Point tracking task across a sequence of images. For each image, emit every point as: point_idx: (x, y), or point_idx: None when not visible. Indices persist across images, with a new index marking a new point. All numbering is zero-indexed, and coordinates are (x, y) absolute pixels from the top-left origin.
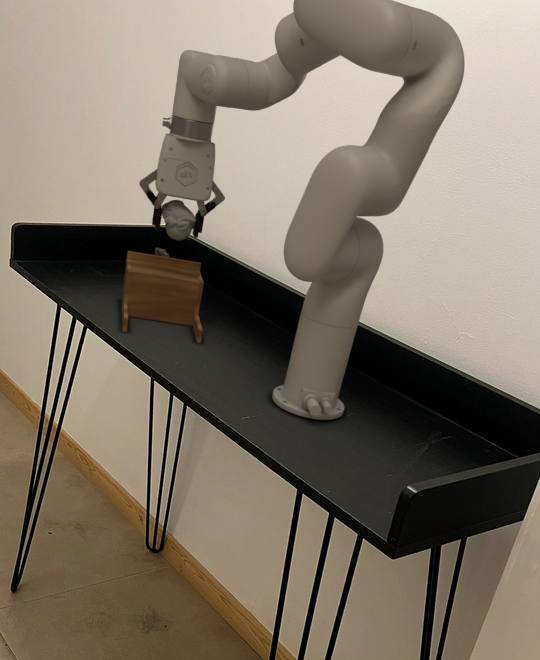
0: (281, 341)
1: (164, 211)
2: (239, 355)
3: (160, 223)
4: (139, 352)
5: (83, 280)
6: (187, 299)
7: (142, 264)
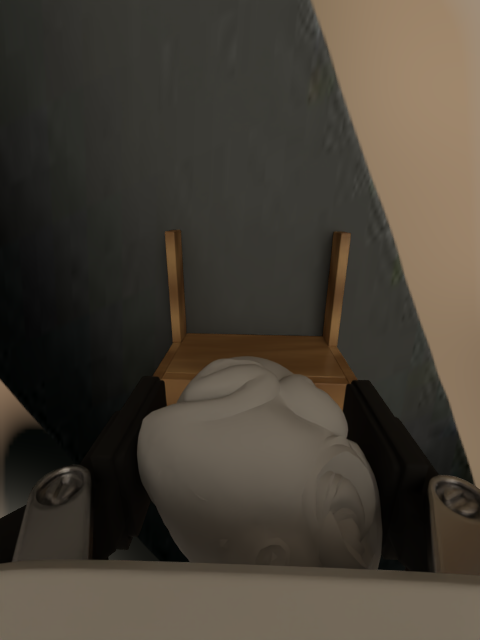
0: (4, 317)
1: (367, 476)
2: (87, 182)
3: (361, 405)
4: (319, 95)
5: None
6: (196, 356)
7: None
